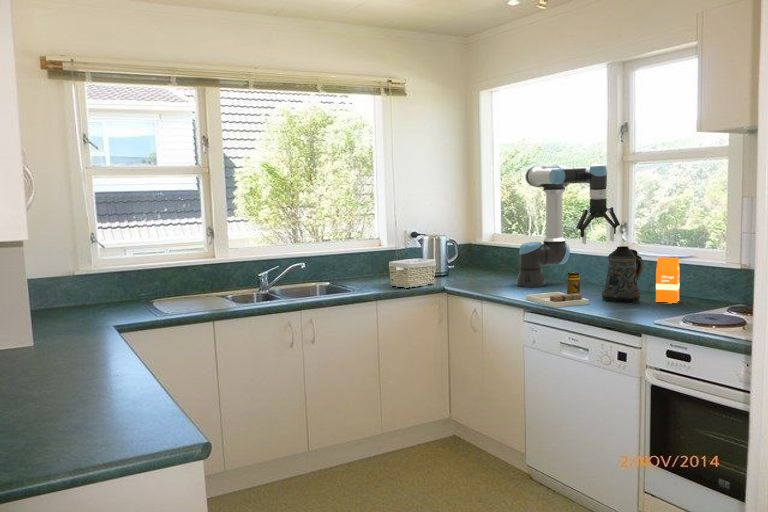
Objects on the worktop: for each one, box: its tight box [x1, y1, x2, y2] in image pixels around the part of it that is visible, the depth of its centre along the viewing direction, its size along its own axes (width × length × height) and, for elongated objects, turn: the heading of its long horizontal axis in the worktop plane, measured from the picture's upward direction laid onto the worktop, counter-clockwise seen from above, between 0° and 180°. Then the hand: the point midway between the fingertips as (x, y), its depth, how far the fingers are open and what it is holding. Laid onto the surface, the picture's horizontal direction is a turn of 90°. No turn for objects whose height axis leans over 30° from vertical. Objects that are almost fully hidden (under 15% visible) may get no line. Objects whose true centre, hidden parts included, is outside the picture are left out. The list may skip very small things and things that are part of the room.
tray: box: [525, 291, 590, 309], centre depth 289 cm, size 24×18×3 cm
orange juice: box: [655, 257, 681, 304], centre depth 282 cm, size 8×9×20 cm
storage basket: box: [388, 257, 437, 287], centre depth 355 cm, size 24×16×15 cm
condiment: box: [566, 271, 581, 294], centre depth 303 cm, size 7×8×12 cm
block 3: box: [569, 293, 583, 301], centre depth 284 cm, size 4×4×4 cm
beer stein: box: [601, 245, 644, 304], centre depth 288 cm, size 16×19×25 cm
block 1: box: [550, 295, 563, 302], centre depth 281 cm, size 4×4×4 cm
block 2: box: [559, 293, 572, 301], centre depth 282 cm, size 4×4×4 cm
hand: (598, 242), depth 298 cm, fingers open, 13 cm apart
